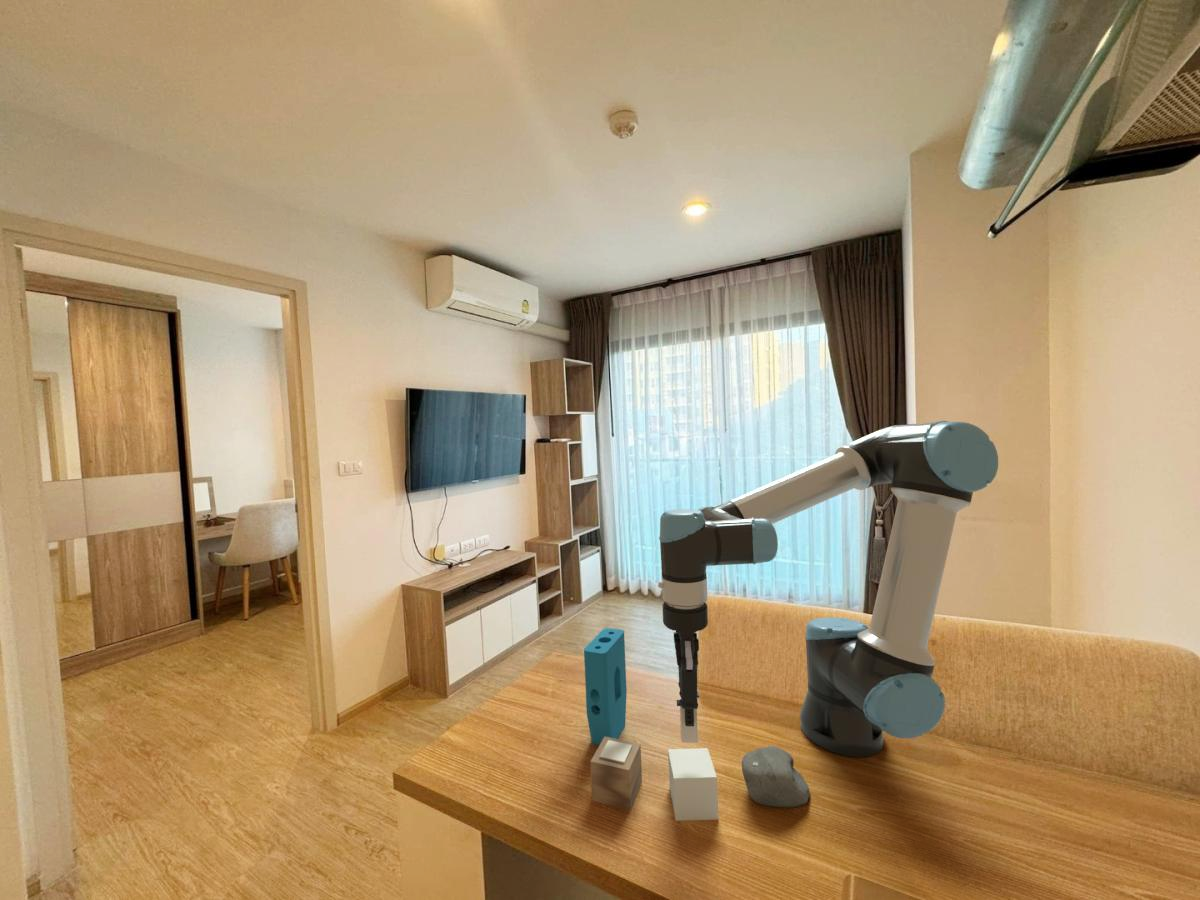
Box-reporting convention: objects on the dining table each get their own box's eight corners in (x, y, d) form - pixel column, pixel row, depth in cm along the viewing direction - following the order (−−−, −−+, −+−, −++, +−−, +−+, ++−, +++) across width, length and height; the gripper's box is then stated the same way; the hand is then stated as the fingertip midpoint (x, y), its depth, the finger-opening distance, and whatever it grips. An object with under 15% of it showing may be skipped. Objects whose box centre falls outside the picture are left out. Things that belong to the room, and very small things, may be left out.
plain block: (709, 787, 80) (707, 748, 80) (718, 819, 73) (716, 777, 73) (669, 788, 80) (668, 749, 80) (675, 821, 73) (673, 778, 73)
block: (609, 753, 90) (605, 654, 90) (586, 748, 92) (582, 650, 92) (629, 719, 101) (625, 630, 101) (608, 714, 103) (604, 627, 103)
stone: (820, 818, 73) (787, 760, 73) (769, 837, 74) (738, 780, 75) (806, 777, 81) (777, 726, 82) (761, 795, 83) (733, 745, 84)
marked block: (642, 781, 82) (640, 742, 82) (630, 811, 76) (628, 768, 76) (606, 773, 85) (604, 734, 85) (592, 801, 78) (590, 759, 78)
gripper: (661, 589, 83) (665, 716, 84) (663, 616, 70) (668, 766, 71) (702, 589, 83) (706, 717, 83) (712, 616, 70) (717, 767, 70)
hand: (689, 739), depth 77 cm, fingers closed
